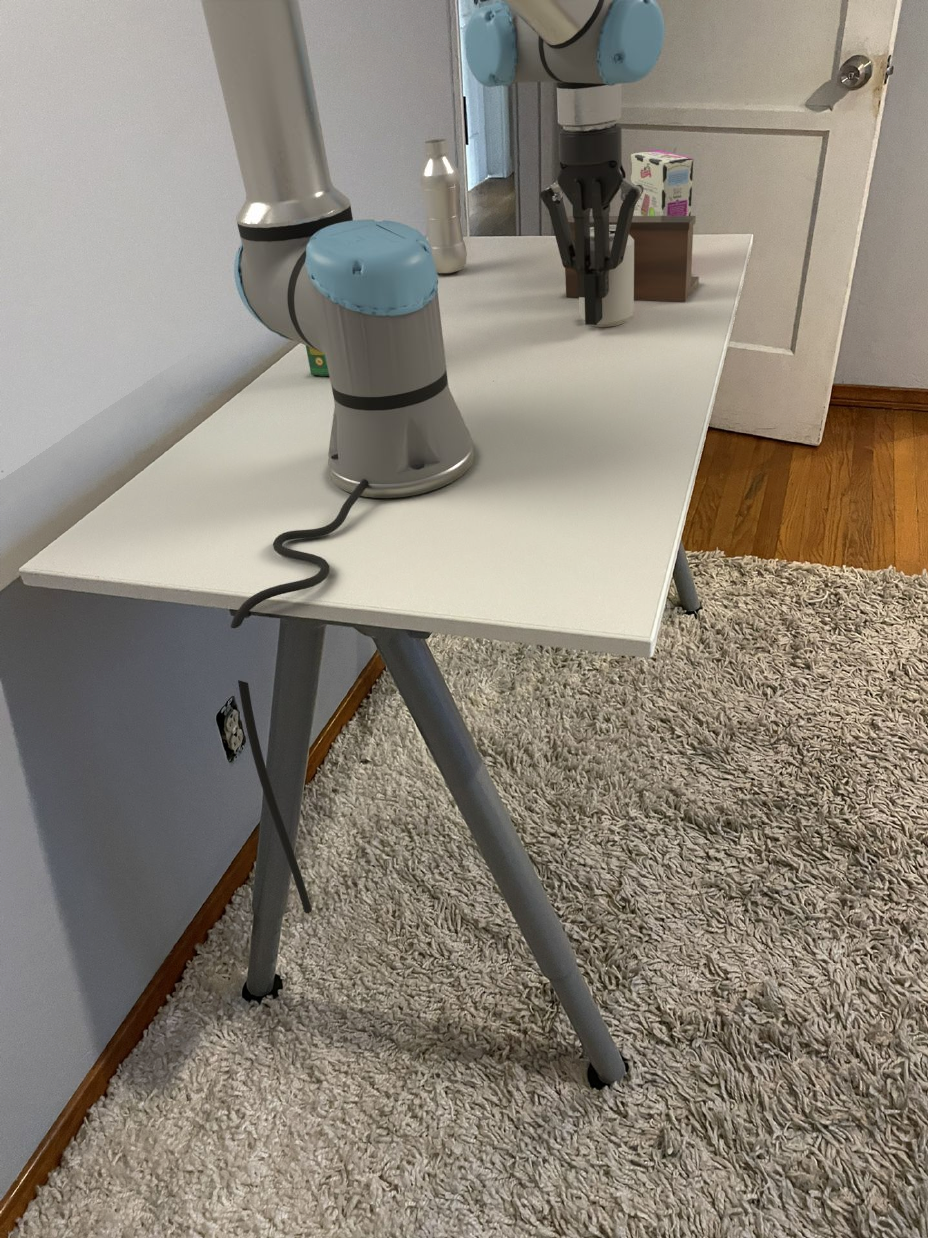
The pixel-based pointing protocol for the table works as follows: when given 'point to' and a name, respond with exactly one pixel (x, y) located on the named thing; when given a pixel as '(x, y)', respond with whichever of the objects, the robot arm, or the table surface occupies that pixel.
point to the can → (615, 286)
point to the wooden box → (654, 258)
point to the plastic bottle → (442, 207)
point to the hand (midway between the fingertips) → (593, 321)
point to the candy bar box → (662, 183)
